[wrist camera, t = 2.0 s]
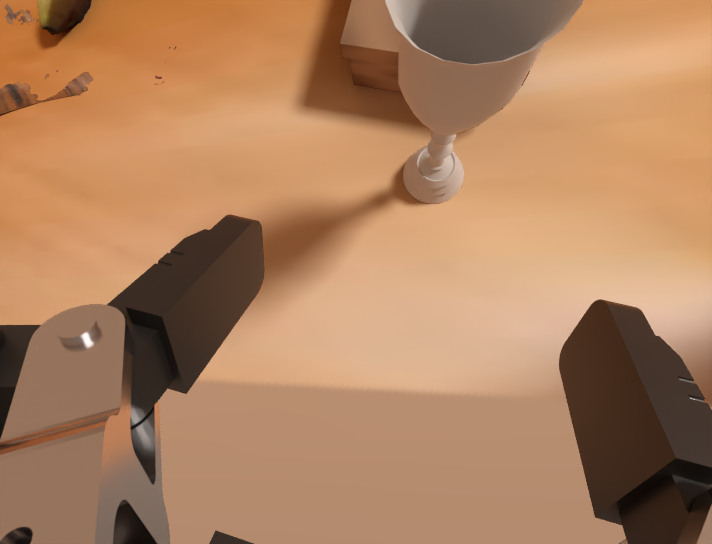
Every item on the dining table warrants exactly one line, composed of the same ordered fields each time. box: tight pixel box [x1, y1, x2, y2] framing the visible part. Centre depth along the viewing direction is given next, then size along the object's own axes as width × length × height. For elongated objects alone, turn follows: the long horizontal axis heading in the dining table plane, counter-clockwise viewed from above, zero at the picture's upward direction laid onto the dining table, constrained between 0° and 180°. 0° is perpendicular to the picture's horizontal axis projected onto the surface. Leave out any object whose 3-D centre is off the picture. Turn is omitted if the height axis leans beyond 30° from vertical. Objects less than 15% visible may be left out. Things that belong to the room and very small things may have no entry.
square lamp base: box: [340, 0, 530, 109], centre depth 30 cm, size 14×13×5 cm
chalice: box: [385, 0, 583, 204], centre depth 22 cm, size 7×7×18 cm
